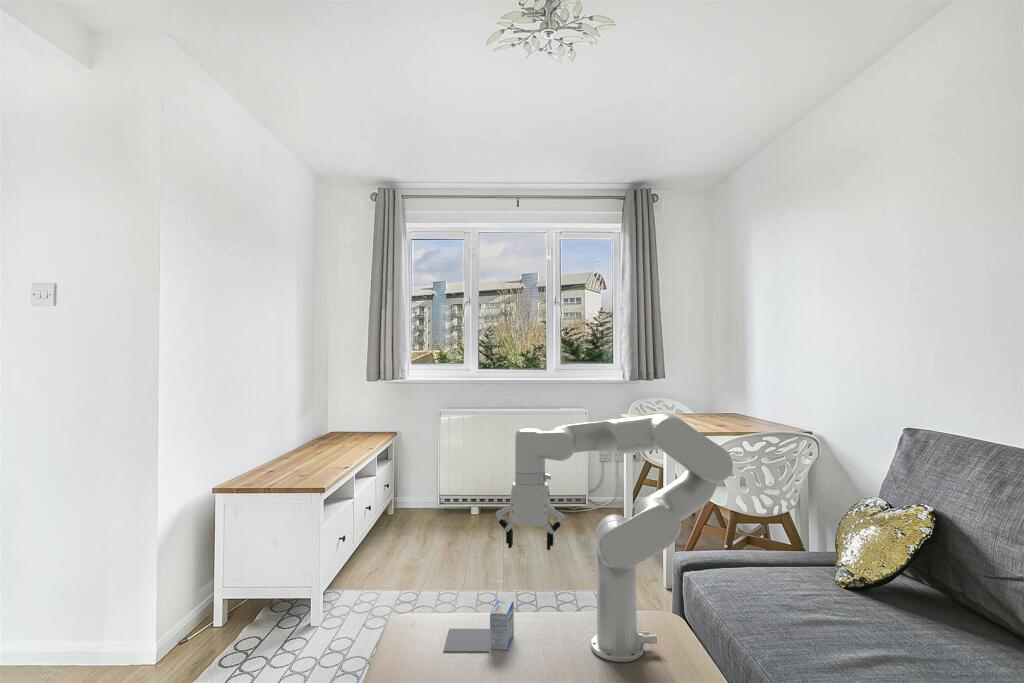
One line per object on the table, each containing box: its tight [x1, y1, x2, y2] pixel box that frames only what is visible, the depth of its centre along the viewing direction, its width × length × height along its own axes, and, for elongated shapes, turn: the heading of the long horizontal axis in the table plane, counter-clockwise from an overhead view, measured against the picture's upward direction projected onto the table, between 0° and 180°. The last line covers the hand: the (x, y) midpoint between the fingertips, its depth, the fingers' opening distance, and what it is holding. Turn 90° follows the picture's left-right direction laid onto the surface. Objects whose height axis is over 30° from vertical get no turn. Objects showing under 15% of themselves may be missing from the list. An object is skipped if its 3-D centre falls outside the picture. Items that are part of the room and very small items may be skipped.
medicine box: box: [489, 599, 515, 651], centre depth 133 cm, size 8×4×9 cm, turn 168°
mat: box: [442, 628, 491, 653], centre depth 133 cm, size 11×11×1 cm
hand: (529, 547), depth 133 cm, fingers open, 9 cm apart
